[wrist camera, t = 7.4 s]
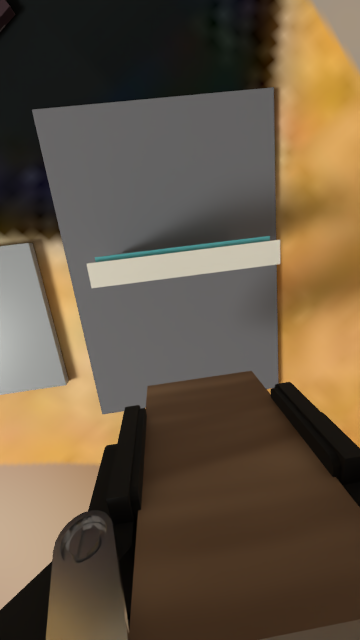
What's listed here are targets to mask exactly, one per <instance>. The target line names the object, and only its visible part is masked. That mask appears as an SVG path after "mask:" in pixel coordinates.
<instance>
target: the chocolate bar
mask: <svg viewBox="0 0 360 640" xmlns="http://www.w3.org/2000/svg"><path fill="white" fill-rule="evenodd" d="M14 16H15V14H14V12H13V10H12V9H11V7H10V5H9V4H8V3H7V2H6V1H5V0H0V32H1V31H2V30H3V29H4V27H5V26H6V25H7V24H8V23H9V21H10V20H11V19H12V18H13V17H14Z"/></svg>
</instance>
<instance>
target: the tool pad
mask: <svg viewBox="0 0 360 640" xmlns="http://www.w3.org/2000/svg"><path fill="white" fill-rule="evenodd" d="M68 381H69V380H68V376H67V372H66V368H65V365H64V361H63V357H62V353H61V349H60V345H59V342H58V338H57V334H56V330H55V326H54V323H53V319H52V315H51V311H50V307H49V303H48V300H47V296H46V292H45V288H44V284H43V281H42V277H41V273H40V269H39V265H38V261H37V258H36V254H35V250H34V246H33V243H24V244H15V245H7V246H0V395H2V394H9V393H15V392H22V391H29V390H36V389H43V388H49V387H56V386H63V385H67V383H68Z"/></svg>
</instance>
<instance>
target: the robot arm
mask: <svg viewBox="0 0 360 640" xmlns="http://www.w3.org/2000/svg"><path fill="white" fill-rule="evenodd" d="M271 398H272V400H273V401H274V402H275V403H276V405H277V406H278V407H279V409H280V410H281V411H282V412H283V414H284V415H285V416H286V418H287V419H288V420H289V421H290V423H291V424H292V425H293V427H294V428H295V429H296V430H297V432H298V433H299V434H300V436H301V437H302V438H303V440H304V441H305V442H306V443H307V445H308V446H309V447H310V449H311V450H312V451H313V452H314V454H315V455H316V456H317V458H318V459H319V460H320V461H321V463H322V464H323V465H324V467H325V468H326V469H327V470H328V472H329V473H330V474H331V476H332V477H336V478H337V479H338V481H339V482H340V483H341V484H342V486H343V487H344V488H345V489H346V491H347V492H348V493H349V494H350V496H351V497H352V498H353V500H354V501H355V502H356V503H357V505H358V506H359V507H360V448H359V447H358V446H357V445H356V444H355V443H354V442H353V441H352V440H351V439H350V438H349V437H348V436H347V435H345V434H344V433H343V432H342V431H341V430H340V429H339V428H338V427H337V426H336V425H335V424H334V423H333V422H332V421H331V420H330V419H329V418H328V417H327V416H326V415H325V414H324V413H322V412H320V411H319V410H318V409H317V408H316V407H315V406H314V405H313V404H312V403H311V402H310V401H309V400H308V399H307V398H306V397H305V396H304V395H303V394H302V393H301V392H300V391H299V390H298V389H297V388H296V387H295V386H294V385H293V384H292V383H290V382H286V383H279V384H276V385H275V387H274V388H272V389H271ZM146 423H147V414H146V409H145V408H140V405H135V406H128V407H125V410H124V415H123V420H122V425H121V430H120V434H119V439H118V444H113V445H107V446H106V447H105V450H104V453H103V457H102V461H101V465H100V468H99V472H98V476H97V480H96V484H95V487H94V491H93V495H92V499H91V503H90V506H89V510H88V512H84V513H82V514H80V515H78V516H77V517H75V518H74V519H73V520H71V521H70V522H69V523H68V524H67V525H66V526H65V527H64V528H63V530H62V531H61V532H60V534H59V536H58V538H57V540H56V542H55V546H54V550H53V560H52V562H51V563H50V564H49V565H48V566H47V567H45V568H44V569H43V570H42V571H41V572H40V573H39V574H38V575H37V576H36V577H35V578H34V579H33V580H32V581H31V582H30V583H29V584H27V585H26V586H25V588H23V589H22V590H21V591H20V592H19V593H18V594H17V595H16V596H15V597H14V598H13V599H12V600H11V601H9V602H8V603H7V604H6V605H5V606H4V607H3V608H2V609H1V610H0V640H130V637H129V628H130V614H131V600H132V587H133V573H134V560H135V546H136V533H137V519H138V510H141V503H142V487H143V471H144V455H145V439H146ZM260 640H360V619H359V620H354V621H349V622H345V623H340V624H335V625H330V626H325V627H320V628H315V629H310V630H305V631H300V632H295V633H290V634H285V635H280V636H275V637H270V638H265V639H260Z"/></svg>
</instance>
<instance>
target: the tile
mask: <svg viewBox="0 0 360 640" xmlns="http://www.w3.org/2000/svg"><path fill="white" fill-rule="evenodd" d="M277 264H280V240H270V236H264V237H254V238H245V239H235V240H226V241H218V242H210V243H202V244H193V245H185V246H177V247H169V248H161V249H153V250H144V251H136V252H128V253H120V254H113V255H107V256H100V257H95V262H92V263H87V269H88V274H89V278H90V283H91V288H98V287H106V286H114V285H122V284H129V283H137V282H145V281H153V280H160V279H168V278H176V277H184V276H191V275H199V274H207V273H215V272H222V271H230V270H238V269H246V268H253V267H261V266H269V265H277Z"/></svg>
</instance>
